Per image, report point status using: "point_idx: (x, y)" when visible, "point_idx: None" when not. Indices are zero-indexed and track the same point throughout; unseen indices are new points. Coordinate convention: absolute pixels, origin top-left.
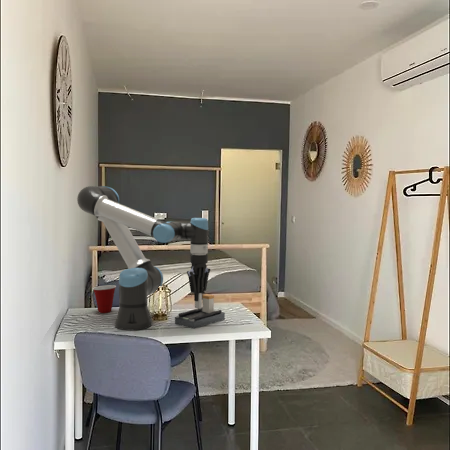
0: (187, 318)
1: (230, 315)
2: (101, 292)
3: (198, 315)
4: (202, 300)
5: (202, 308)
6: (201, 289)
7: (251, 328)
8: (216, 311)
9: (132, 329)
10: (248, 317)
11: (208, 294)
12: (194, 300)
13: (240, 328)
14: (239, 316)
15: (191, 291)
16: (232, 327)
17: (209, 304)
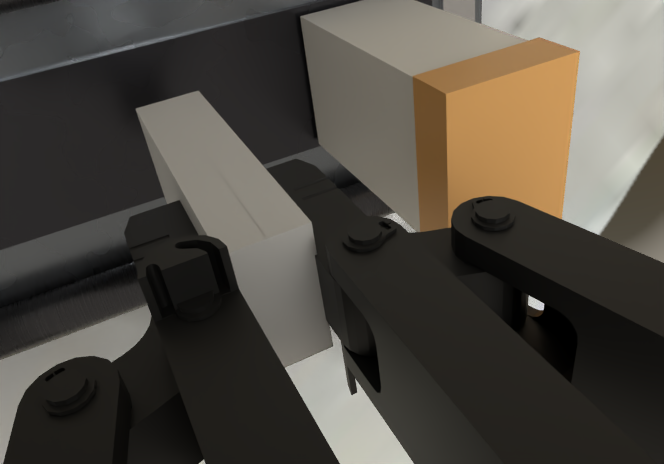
0: None
1: (576, 41)
2: None
3: (134, 157)
4: (388, 66)
5: (321, 31)
6: (375, 403)
7: (382, 445)
8: (383, 214)
9: None
10: (597, 189)
11: (567, 104)
12: (128, 222)
13: (326, 429)
14: (588, 122)
15: (35, 428)
16: (299, 392)
17: (382, 194)
